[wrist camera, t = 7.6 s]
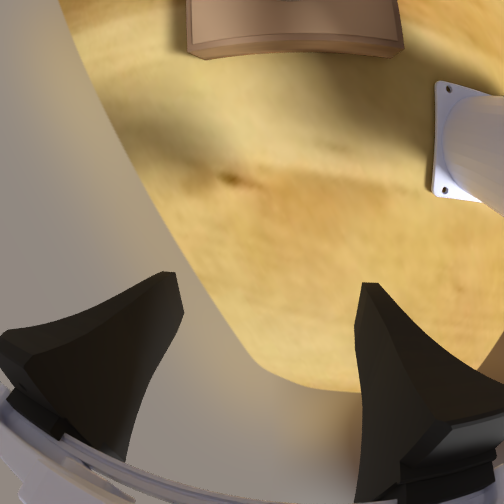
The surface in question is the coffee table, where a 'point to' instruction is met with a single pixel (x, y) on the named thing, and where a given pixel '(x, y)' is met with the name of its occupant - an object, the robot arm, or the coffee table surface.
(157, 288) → the robot arm
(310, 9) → the brown rectangular block
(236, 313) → the coffee table surface
